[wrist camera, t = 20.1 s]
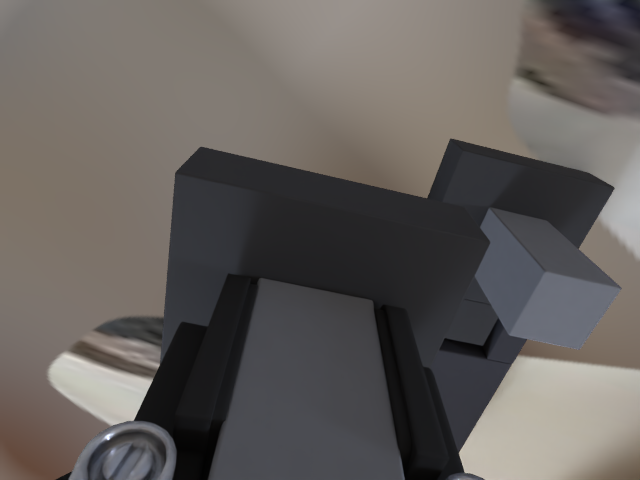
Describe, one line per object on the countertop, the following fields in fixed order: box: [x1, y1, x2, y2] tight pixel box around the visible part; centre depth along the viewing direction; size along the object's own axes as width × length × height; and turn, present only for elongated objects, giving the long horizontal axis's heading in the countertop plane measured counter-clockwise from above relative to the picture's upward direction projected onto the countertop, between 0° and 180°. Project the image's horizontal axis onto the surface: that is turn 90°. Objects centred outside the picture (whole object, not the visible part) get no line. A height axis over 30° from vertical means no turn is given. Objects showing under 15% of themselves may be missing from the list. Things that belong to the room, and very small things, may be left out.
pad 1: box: [160, 147, 490, 480], centre depth 10 cm, size 10×7×7 cm
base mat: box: [430, 317, 527, 453], centre depth 24 cm, size 12×16×2 cm
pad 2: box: [427, 139, 621, 350], centre depth 18 cm, size 10×7×7 cm
